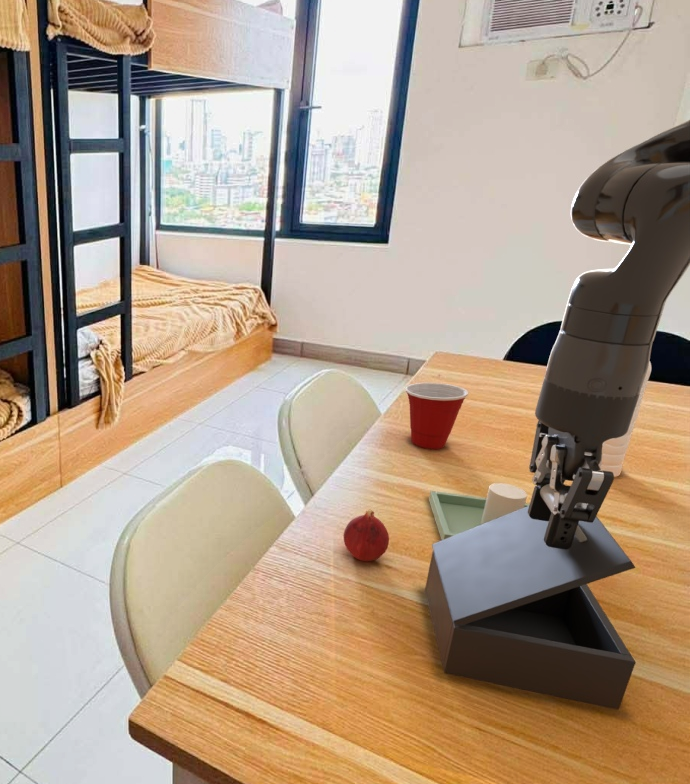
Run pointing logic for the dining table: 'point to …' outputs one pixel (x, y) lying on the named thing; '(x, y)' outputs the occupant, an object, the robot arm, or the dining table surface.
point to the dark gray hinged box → (536, 646)
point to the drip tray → (456, 512)
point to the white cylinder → (502, 501)
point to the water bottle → (621, 440)
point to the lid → (521, 563)
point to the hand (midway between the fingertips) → (547, 531)
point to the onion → (366, 537)
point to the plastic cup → (433, 412)
